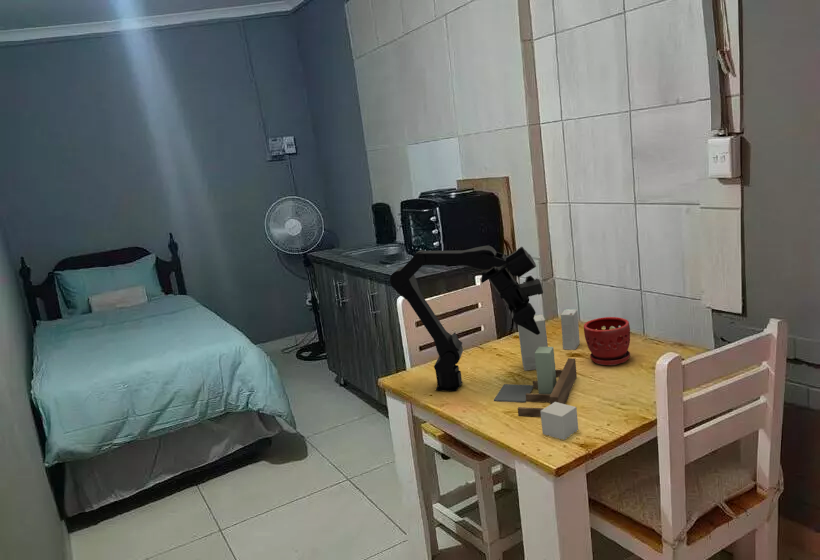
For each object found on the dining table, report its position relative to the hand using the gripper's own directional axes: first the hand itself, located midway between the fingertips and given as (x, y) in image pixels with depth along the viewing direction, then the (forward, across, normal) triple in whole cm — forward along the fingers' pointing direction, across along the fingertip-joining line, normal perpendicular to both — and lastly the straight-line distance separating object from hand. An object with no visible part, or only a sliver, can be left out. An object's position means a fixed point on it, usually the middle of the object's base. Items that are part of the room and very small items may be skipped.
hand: (536, 328), depth 176 cm
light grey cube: (+12, -34, +7) cm, 37 cm away
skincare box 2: (+22, +25, -4) cm, 33 cm away
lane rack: (+14, -12, +7) cm, 19 cm away
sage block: (+14, -12, +7) cm, 19 cm away
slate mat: (+9, -8, +15) cm, 20 cm away
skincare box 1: (+14, +11, +8) cm, 20 cm away
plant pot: (+25, +9, -11) cm, 29 cm away
